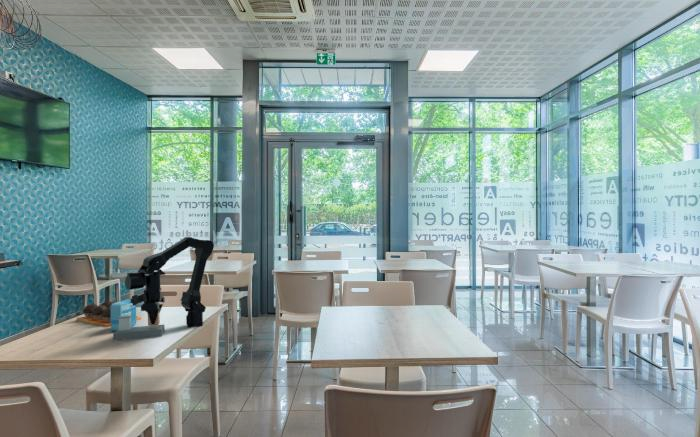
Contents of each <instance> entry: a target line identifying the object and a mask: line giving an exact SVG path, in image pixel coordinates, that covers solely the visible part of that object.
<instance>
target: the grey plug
mask: <svg viewBox="0 0 700 437" xmlns="http://www.w3.org/2000/svg"><path fill="white" fill-rule="evenodd" d="M118 319H119V331H127V330H130V329H131V315H123V316H119V317H118Z"/></svg>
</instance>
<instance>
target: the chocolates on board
mask: <svg viewBox="0 0 700 437" xmlns="http://www.w3.org/2000/svg"><path fill="white" fill-rule="evenodd" d="M117 302H118V301H115V303H117ZM113 303H114V302H113V301H112V300H111V301H110V300H105V301H104V302H102V303H101V304H100V305H98V304H96V303H89V304H87V305H86V306H84V308H83V310H82V312H83V315H84V316H80V317H77V318H75V319H76V321H78V322H82V323H87V324H92V325H95V326H99V327H106V328H109V327H110V328H111V305H112V304H113ZM141 320H142V317H141V316H137V315H136V321H141Z"/></svg>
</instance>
